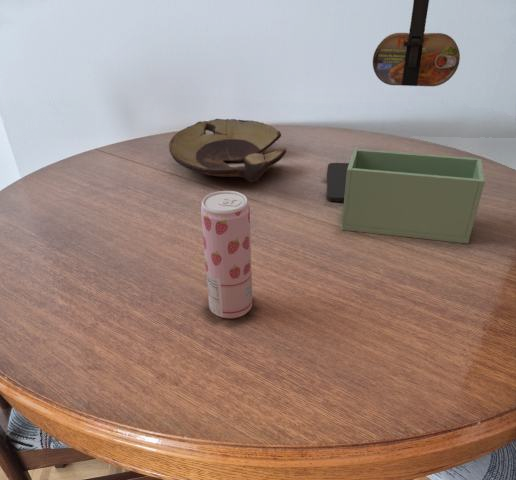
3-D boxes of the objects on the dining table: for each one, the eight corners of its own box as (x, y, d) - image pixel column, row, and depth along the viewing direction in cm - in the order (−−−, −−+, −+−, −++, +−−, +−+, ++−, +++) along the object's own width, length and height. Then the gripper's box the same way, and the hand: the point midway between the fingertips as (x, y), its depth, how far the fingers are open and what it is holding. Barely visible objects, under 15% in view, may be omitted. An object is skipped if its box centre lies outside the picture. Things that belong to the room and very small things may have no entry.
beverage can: (256, 316, 70) (254, 208, 60) (212, 322, 69) (203, 214, 59) (247, 291, 74) (244, 187, 64) (206, 297, 73) (196, 192, 63)
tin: (370, 84, 101) (375, 33, 95) (372, 78, 103) (376, 29, 98) (454, 88, 98) (464, 36, 92) (454, 82, 100) (464, 31, 95)
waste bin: (466, 218, 89) (481, 158, 82) (468, 243, 83) (485, 181, 76) (348, 206, 93) (353, 148, 86) (341, 230, 87) (347, 169, 80)
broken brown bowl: (280, 141, 116) (281, 103, 111) (293, 204, 94) (294, 161, 89) (176, 144, 116) (172, 106, 111) (163, 208, 93) (157, 165, 88)
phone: (326, 197, 94) (327, 162, 105) (326, 201, 94) (327, 166, 105) (370, 198, 93) (366, 163, 104) (369, 203, 93) (365, 167, 105)
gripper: (410, -80, 92) (391, 71, 107) (405, -75, 80) (385, 93, 96) (456, -81, 91) (431, 72, 106) (458, -76, 79) (429, 95, 94)
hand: (409, 82), depth 101 cm, fingers closed on tin, 3 cm apart
